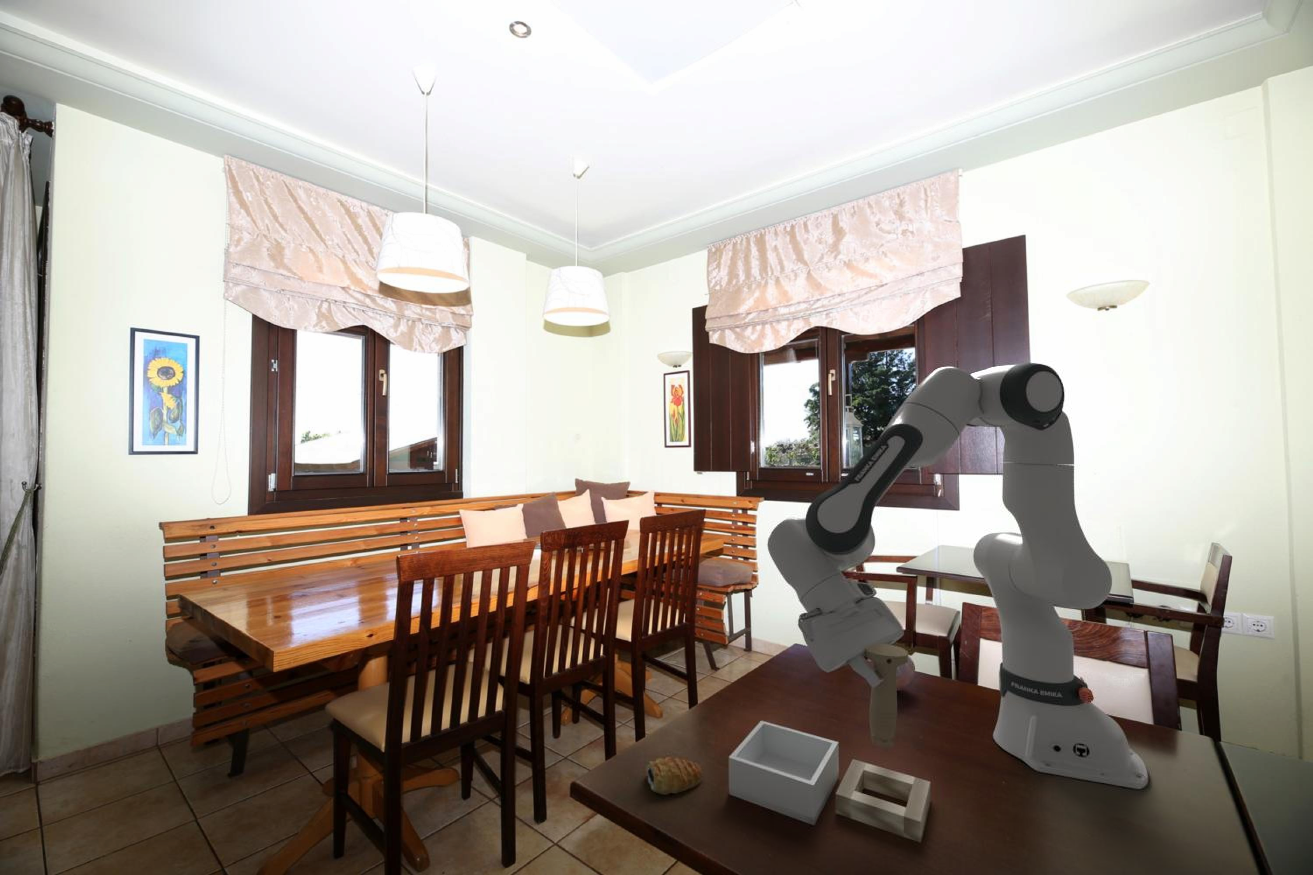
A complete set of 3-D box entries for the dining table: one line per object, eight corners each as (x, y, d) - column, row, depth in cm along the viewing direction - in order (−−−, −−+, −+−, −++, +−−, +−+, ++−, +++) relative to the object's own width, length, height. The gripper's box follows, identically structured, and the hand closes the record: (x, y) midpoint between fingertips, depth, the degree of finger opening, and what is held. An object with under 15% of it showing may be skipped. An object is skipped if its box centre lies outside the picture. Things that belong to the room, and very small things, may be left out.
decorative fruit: (883, 678, 134) (883, 637, 134) (919, 688, 128) (919, 645, 128) (867, 691, 127) (867, 647, 127) (904, 703, 122) (904, 657, 122)
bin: (838, 777, 95) (838, 742, 95) (814, 825, 84) (813, 785, 84) (761, 752, 103) (761, 720, 103) (729, 793, 91) (728, 757, 91)
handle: (907, 755, 85) (911, 658, 84) (863, 749, 86) (867, 653, 86) (899, 737, 90) (903, 645, 89) (857, 732, 91) (861, 641, 90)
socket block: (930, 800, 89) (930, 781, 89) (920, 842, 80) (920, 821, 80) (853, 776, 95) (852, 758, 95) (835, 812, 86) (835, 793, 86)
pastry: (694, 766, 99) (694, 745, 99) (708, 789, 93) (708, 767, 93) (643, 776, 96) (643, 754, 96) (654, 800, 90) (654, 777, 90)
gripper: (804, 605, 87) (862, 690, 79) (876, 582, 99) (933, 653, 91) (782, 626, 90) (835, 709, 83) (855, 602, 103) (907, 672, 95)
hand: (887, 680), depth 87 cm, fingers closed on handle, 3 cm apart
